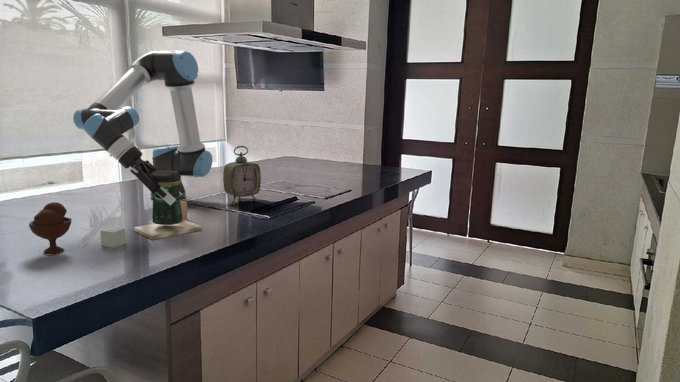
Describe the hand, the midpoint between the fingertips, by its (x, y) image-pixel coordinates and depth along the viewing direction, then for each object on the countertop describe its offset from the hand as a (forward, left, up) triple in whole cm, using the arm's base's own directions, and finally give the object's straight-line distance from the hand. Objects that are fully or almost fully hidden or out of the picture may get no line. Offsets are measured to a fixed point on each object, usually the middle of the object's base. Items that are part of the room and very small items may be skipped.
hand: (176, 199), depth 170 cm
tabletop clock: (-41, -23, -11) cm, 49 cm away
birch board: (+3, -2, -11) cm, 11 cm away
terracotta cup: (-5, -14, -11) cm, 19 cm away
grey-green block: (+23, +2, -11) cm, 25 cm away
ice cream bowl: (+39, -2, -11) cm, 40 cm away
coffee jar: (+3, -2, -8) cm, 9 cm away
